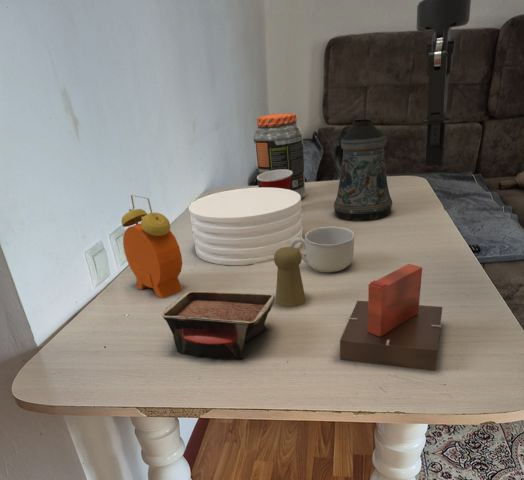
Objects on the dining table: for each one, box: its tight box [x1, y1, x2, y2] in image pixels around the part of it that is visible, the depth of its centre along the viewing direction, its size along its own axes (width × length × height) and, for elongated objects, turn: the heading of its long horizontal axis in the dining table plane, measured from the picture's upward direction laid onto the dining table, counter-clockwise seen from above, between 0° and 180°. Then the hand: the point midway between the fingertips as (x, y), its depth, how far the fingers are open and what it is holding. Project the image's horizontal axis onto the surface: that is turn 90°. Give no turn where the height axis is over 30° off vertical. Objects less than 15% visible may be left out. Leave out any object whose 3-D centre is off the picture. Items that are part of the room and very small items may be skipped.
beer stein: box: [332, 119, 393, 222], centre depth 135 cm, size 16×19×25 cm
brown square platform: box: [339, 300, 443, 372], centre depth 77 cm, size 14×14×4 cm
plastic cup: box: [256, 169, 293, 190], centre depth 147 cm, size 11×11×12 cm
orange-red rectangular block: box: [367, 263, 423, 337], centre depth 74 cm, size 10×2×8 cm, turn 131°
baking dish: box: [161, 290, 275, 361], centre depth 82 cm, size 14×18×10 cm
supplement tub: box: [253, 112, 306, 200], centre depth 158 cm, size 16×16×26 cm
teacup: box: [290, 225, 356, 274], centre depth 106 cm, size 14×11×8 cm
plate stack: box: [188, 187, 304, 266], centre depth 123 cm, size 28×28×12 cm
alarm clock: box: [121, 194, 183, 299], centre depth 102 cm, size 13×6×20 cm, turn 45°
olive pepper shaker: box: [273, 247, 307, 308], centre depth 92 cm, size 6×6×11 cm
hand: (434, 164), depth 83 cm, fingers closed
